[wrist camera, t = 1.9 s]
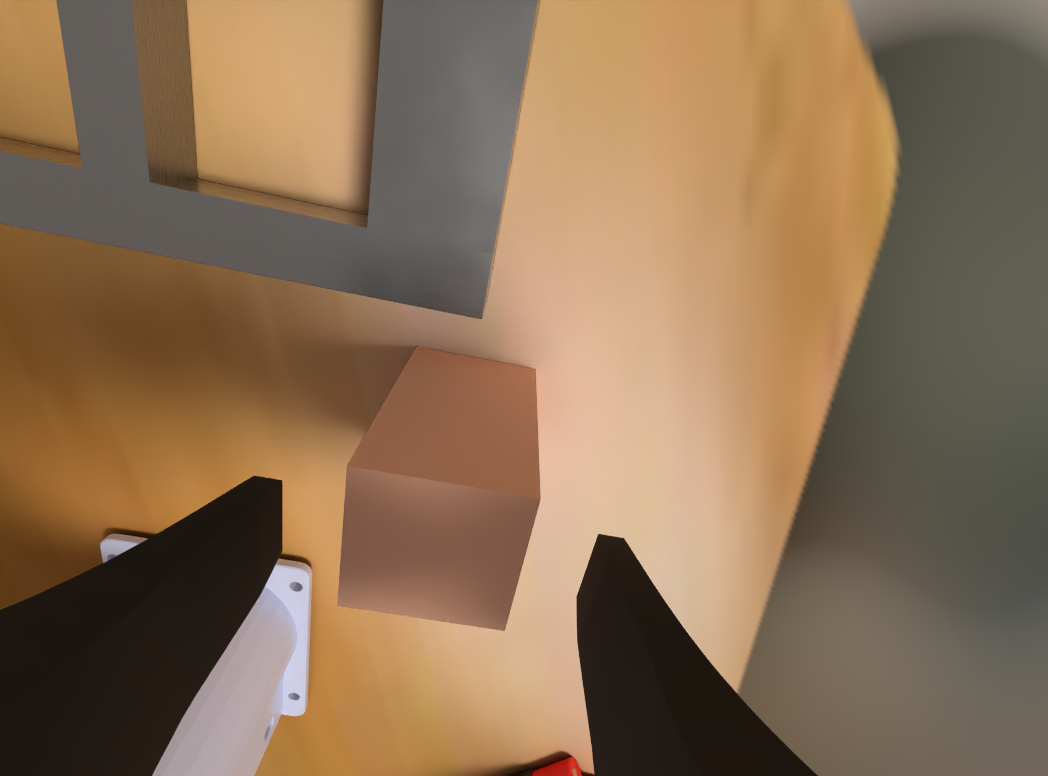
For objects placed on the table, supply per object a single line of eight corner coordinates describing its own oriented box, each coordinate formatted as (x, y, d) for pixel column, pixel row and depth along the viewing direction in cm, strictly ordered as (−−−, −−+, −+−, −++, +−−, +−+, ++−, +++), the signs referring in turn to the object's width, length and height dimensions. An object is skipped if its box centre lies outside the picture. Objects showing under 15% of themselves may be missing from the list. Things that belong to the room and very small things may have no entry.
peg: (512, 467, 18) (504, 631, 12) (404, 448, 18) (337, 605, 12) (535, 369, 17) (540, 499, 10) (416, 346, 16) (347, 465, 10)
